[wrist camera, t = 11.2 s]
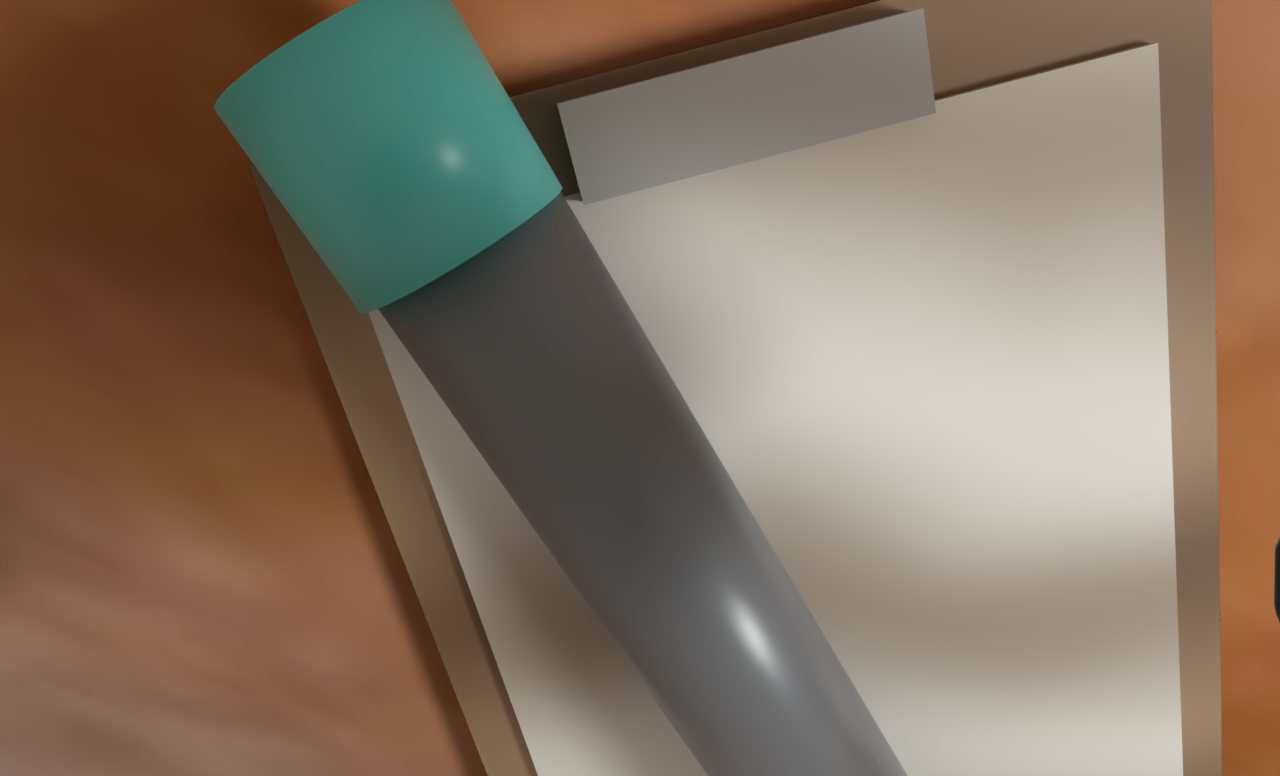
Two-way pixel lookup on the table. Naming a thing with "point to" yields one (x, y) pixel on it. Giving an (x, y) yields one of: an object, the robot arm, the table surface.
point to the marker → (547, 374)
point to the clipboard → (875, 383)
